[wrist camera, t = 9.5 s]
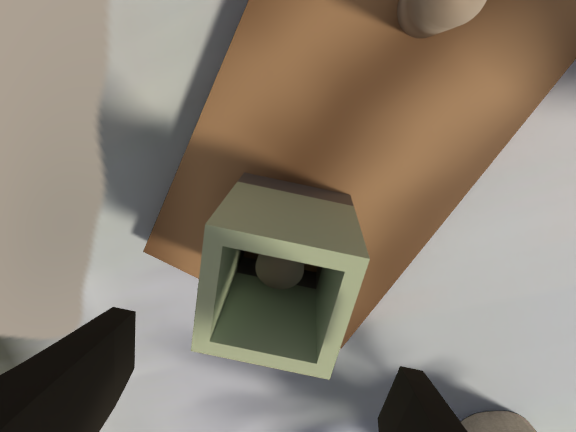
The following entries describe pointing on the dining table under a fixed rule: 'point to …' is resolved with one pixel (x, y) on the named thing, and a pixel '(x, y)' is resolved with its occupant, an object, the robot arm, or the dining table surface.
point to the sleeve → (279, 302)
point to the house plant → (497, 422)
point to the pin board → (365, 117)
